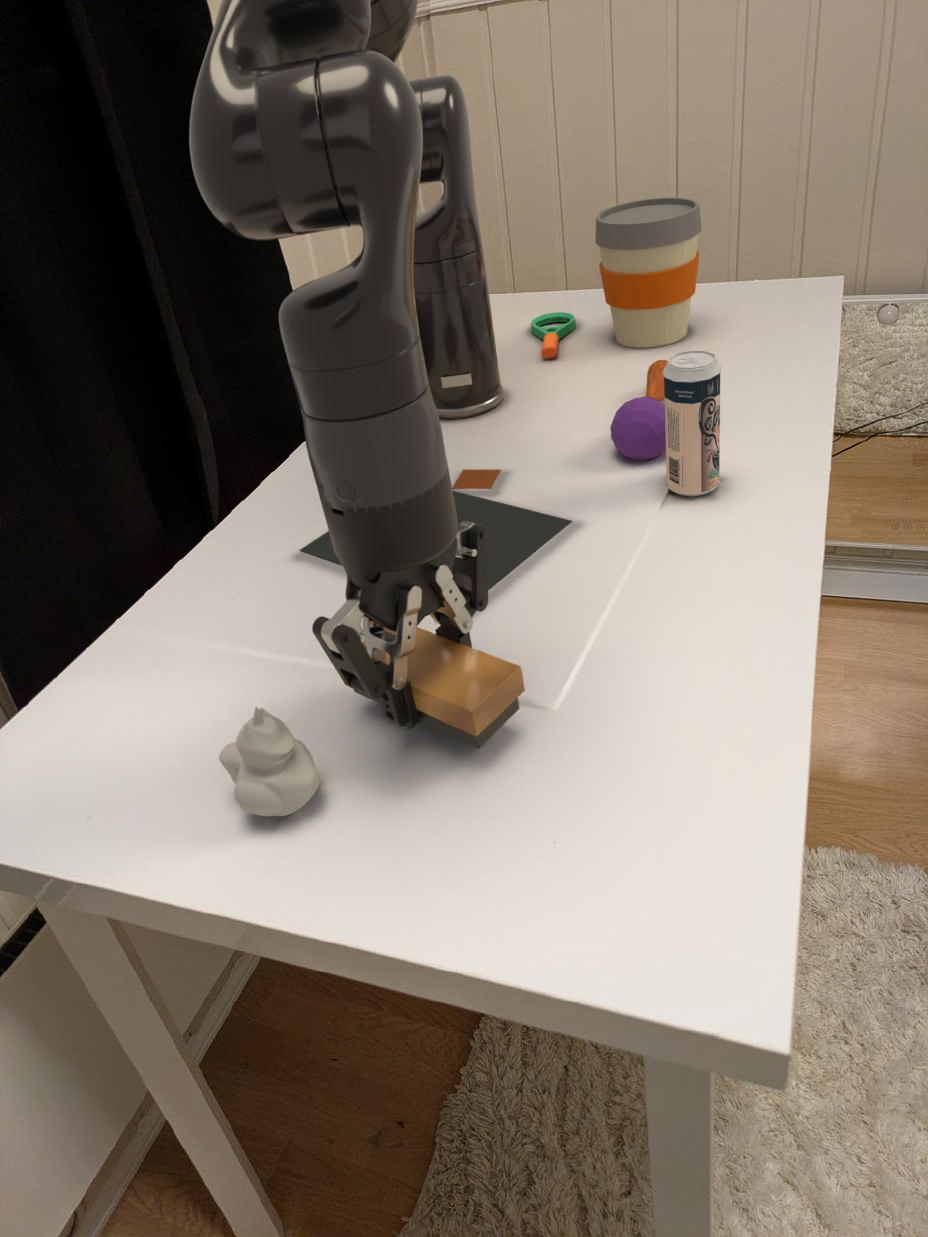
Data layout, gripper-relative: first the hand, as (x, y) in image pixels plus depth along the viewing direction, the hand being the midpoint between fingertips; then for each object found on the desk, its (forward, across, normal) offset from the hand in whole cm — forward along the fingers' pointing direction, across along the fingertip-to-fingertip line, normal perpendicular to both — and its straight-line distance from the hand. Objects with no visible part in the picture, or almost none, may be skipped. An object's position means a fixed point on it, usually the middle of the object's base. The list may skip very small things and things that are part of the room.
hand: (432, 697), depth 61 cm
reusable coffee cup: (+2, -70, -24) cm, 74 cm away
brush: (0, 0, 0) cm, 0 cm away
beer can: (+2, -36, 0) cm, 36 cm away
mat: (+2, -18, -16) cm, 24 cm away
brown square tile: (+2, -28, -19) cm, 34 cm away
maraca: (+2, -46, -10) cm, 47 cm away
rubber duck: (+2, +11, -4) cm, 12 cm away
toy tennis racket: (+2, -65, -36) cm, 74 cm away
